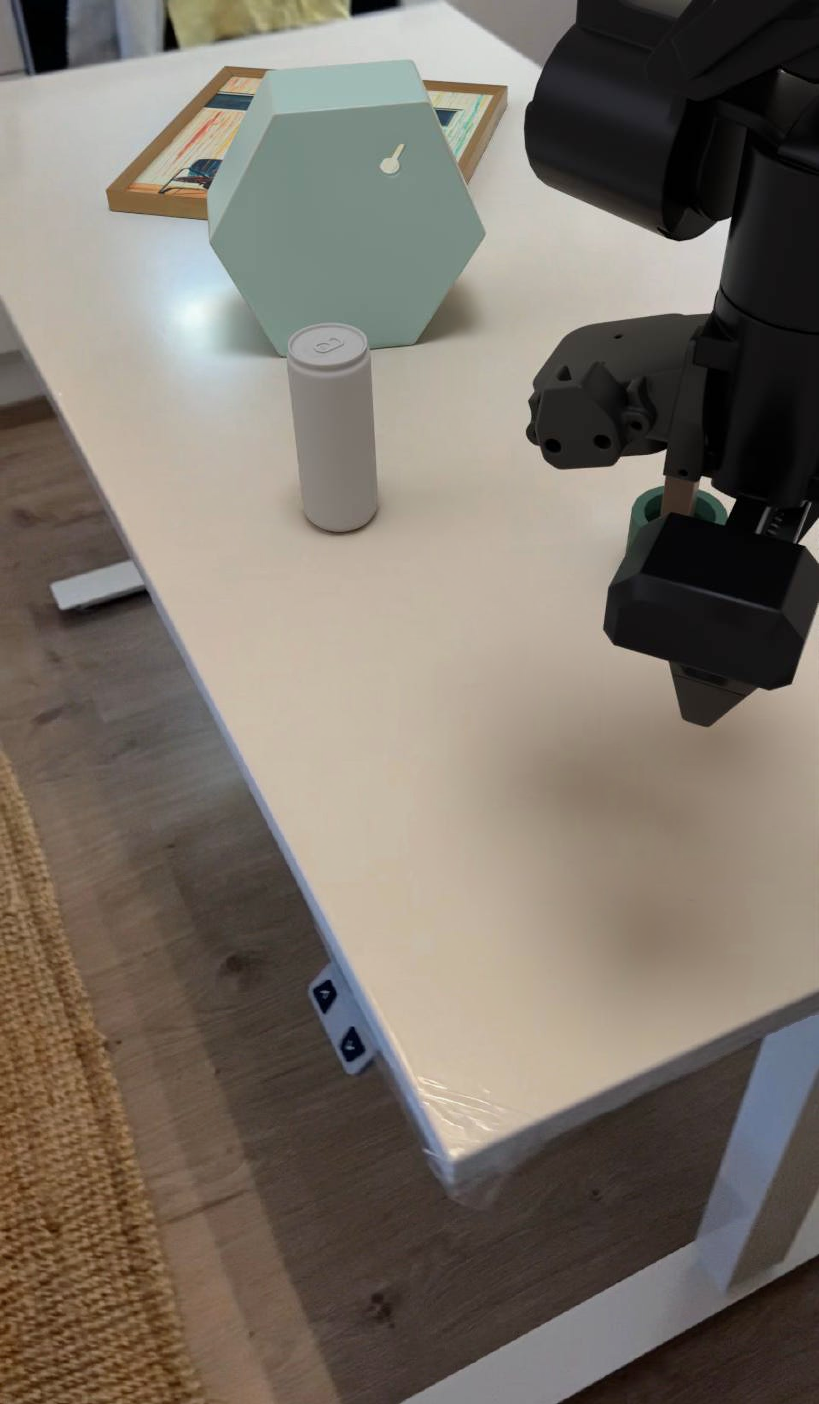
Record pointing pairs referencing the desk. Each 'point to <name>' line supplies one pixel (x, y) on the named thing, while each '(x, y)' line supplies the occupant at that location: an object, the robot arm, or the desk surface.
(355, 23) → the desk surface
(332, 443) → the beverage can
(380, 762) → the desk surface
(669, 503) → the brown lever handle
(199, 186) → the picture frame
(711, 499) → the green round lever base
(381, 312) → the mint green hexagonal prism
